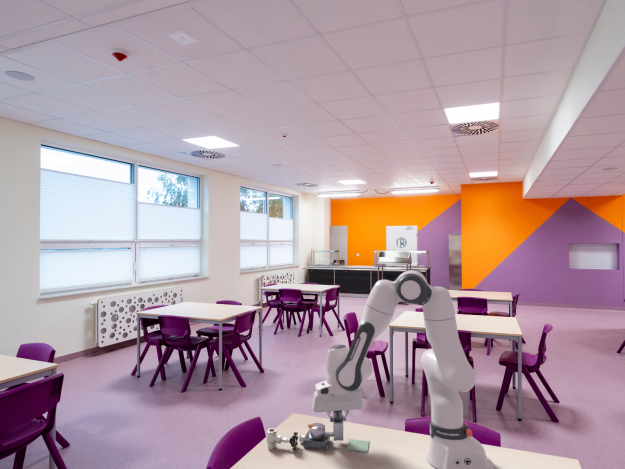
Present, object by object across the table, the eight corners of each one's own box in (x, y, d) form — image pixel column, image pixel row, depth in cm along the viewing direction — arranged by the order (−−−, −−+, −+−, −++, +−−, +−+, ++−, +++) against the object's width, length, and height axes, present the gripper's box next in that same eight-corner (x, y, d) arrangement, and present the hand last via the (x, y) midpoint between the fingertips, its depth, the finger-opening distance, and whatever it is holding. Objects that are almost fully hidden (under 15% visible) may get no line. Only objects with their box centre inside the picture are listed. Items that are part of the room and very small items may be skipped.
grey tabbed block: (341, 427, 159) (341, 407, 160) (342, 434, 153) (342, 413, 153) (333, 427, 159) (333, 407, 160) (333, 434, 153) (333, 413, 153)
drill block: (330, 440, 159) (330, 432, 159) (326, 450, 151) (326, 442, 151) (302, 437, 161) (302, 430, 161) (297, 447, 153) (297, 439, 153)
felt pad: (369, 442, 157) (369, 441, 157) (367, 452, 149) (367, 451, 149) (349, 440, 159) (349, 439, 159) (346, 450, 151) (346, 449, 151)
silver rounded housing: (342, 431, 159) (342, 415, 159) (343, 441, 151) (343, 423, 152) (308, 430, 160) (308, 414, 160) (307, 440, 152) (307, 422, 152)
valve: (263, 451, 151) (294, 454, 148) (263, 433, 151) (294, 436, 148) (269, 442, 157) (298, 445, 155) (269, 425, 157) (298, 428, 155)
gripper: (360, 381, 162) (360, 415, 162) (311, 384, 158) (311, 419, 158) (364, 387, 156) (365, 422, 155) (314, 390, 152) (314, 426, 152)
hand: (337, 421), depth 157 cm, fingers closed on grey tabbed block, 4 cm apart
